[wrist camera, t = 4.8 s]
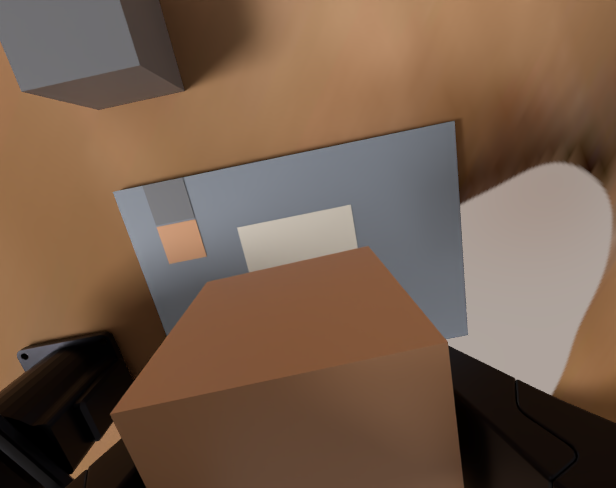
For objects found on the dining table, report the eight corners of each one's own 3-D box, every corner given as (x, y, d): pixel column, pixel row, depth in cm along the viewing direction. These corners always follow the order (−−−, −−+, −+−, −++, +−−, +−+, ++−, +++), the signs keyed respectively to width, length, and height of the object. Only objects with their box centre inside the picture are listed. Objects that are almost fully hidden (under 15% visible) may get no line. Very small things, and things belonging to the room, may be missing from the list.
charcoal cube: (99, 110, 17) (21, 91, 12) (62, 8, 16) (-41, -58, 11) (185, 91, 17) (140, 65, 12) (155, -14, 16) (91, -89, 11)
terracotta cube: (251, 412, 11) (212, 622, 6) (207, 281, 9) (109, 414, 4) (392, 382, 10) (473, 571, 6) (368, 245, 9) (448, 341, 4)
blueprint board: (189, 381, 22) (185, 388, 21) (118, 190, 18) (112, 192, 18) (463, 330, 22) (468, 335, 21) (449, 121, 18) (454, 120, 17)
